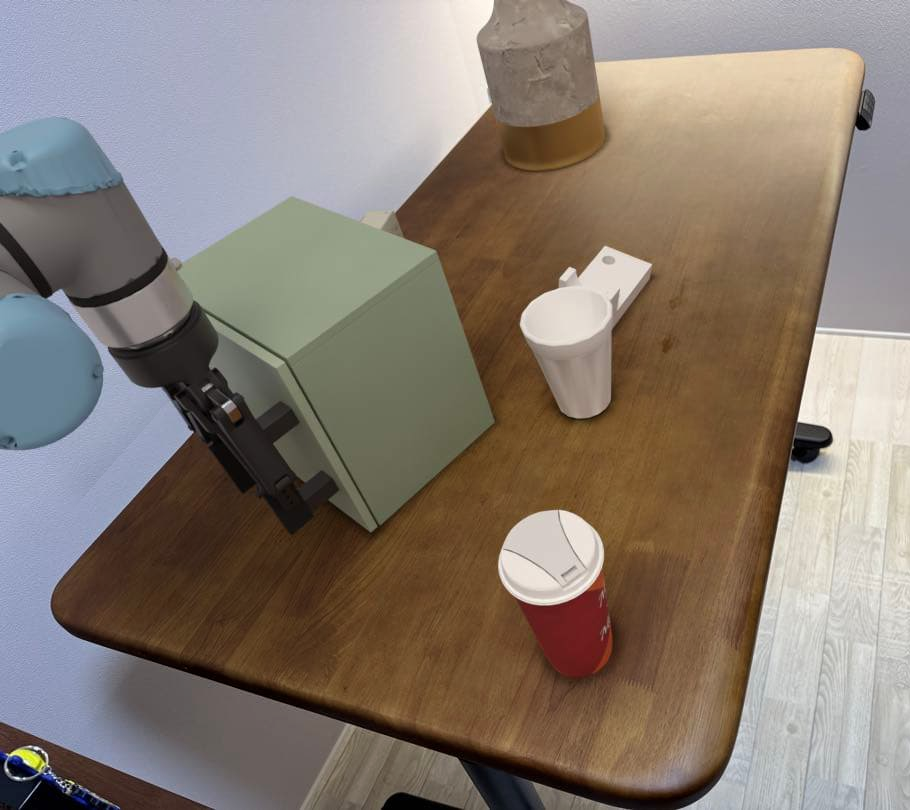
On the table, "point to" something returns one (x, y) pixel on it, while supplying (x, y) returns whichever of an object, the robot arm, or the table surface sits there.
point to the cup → (573, 347)
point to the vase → (542, 83)
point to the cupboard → (353, 339)
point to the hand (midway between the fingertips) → (275, 503)
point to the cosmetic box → (383, 221)
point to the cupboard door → (288, 422)
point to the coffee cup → (560, 588)
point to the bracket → (612, 278)
